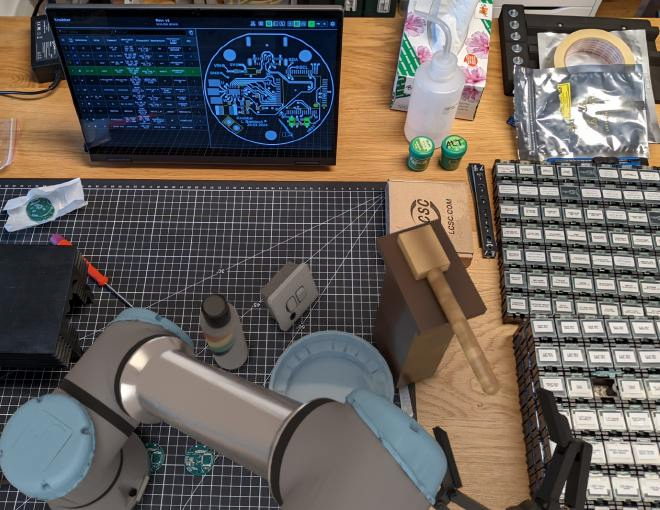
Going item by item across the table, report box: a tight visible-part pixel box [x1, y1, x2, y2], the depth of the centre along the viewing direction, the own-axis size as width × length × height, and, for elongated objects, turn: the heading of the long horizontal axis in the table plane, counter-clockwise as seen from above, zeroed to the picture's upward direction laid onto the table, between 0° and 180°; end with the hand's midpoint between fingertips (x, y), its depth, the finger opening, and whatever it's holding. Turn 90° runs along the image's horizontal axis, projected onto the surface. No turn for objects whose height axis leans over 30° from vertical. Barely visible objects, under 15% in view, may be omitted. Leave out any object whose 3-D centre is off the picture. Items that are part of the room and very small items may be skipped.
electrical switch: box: [258, 260, 320, 332], centre depth 105 cm, size 9×5×9 cm, turn 141°
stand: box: [372, 218, 488, 390], centre depth 91 cm, size 9×14×30 cm, turn 20°
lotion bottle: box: [199, 292, 249, 370], centre depth 95 cm, size 6×6×20 cm
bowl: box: [268, 329, 395, 404], centre depth 98 cm, size 19×19×6 cm
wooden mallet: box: [397, 225, 501, 396], centre depth 75 cm, size 4×22×2 cm, turn 20°
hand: (492, 409), depth 72 cm, fingers open, 13 cm apart
